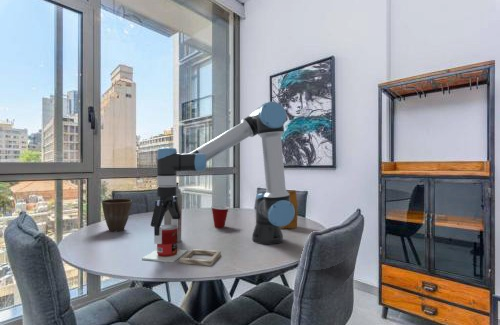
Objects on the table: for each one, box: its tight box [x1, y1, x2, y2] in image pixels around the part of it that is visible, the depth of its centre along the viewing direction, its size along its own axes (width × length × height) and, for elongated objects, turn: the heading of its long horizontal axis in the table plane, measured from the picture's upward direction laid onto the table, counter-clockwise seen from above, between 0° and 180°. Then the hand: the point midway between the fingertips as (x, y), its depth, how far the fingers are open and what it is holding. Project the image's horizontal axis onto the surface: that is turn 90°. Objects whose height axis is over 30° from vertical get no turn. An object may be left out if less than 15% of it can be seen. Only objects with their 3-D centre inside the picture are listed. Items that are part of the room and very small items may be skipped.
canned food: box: [156, 224, 179, 257], centre depth 114 cm, size 8×8×11 cm
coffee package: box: [280, 189, 298, 230], centre depth 167 cm, size 10×12×22 cm
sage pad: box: [141, 249, 188, 263], centre depth 114 cm, size 13×13×1 cm
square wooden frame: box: [178, 248, 222, 267], centre depth 111 cm, size 12×12×2 cm
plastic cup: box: [210, 205, 230, 229], centre depth 165 cm, size 11×11×12 cm
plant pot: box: [101, 198, 133, 232], centre depth 154 cm, size 15×15×16 cm
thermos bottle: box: [163, 182, 183, 243], centre depth 135 cm, size 8×8×28 cm
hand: (166, 238), depth 114 cm, fingers open, 13 cm apart
